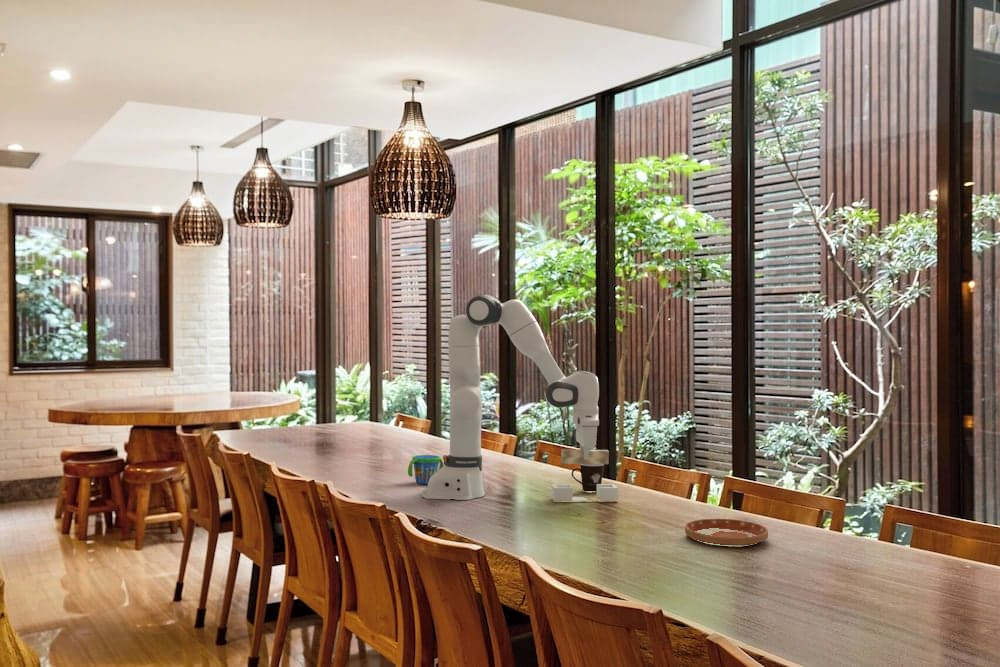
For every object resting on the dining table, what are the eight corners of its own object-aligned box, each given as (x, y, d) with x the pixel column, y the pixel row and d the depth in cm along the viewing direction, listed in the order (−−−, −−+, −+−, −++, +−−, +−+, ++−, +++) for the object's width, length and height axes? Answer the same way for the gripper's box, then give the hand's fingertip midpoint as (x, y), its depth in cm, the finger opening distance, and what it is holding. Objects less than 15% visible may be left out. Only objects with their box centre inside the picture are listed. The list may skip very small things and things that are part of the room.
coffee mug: (603, 489, 314) (603, 462, 314) (603, 494, 306) (604, 466, 306) (571, 488, 316) (571, 461, 316) (571, 493, 307) (571, 465, 307)
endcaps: (554, 502, 290) (554, 488, 290) (551, 498, 297) (551, 484, 296) (618, 502, 291) (618, 487, 291) (613, 498, 298) (614, 484, 298)
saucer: (710, 552, 228) (710, 539, 228) (670, 532, 250) (671, 520, 250) (784, 547, 234) (784, 534, 234) (740, 528, 256) (740, 516, 256)
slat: (562, 463, 291) (562, 450, 291) (561, 462, 294) (561, 449, 294) (608, 464, 292) (608, 451, 292) (606, 462, 295) (607, 449, 295)
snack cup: (436, 479, 332) (436, 453, 332) (450, 483, 324) (451, 456, 323) (401, 483, 323) (401, 456, 323) (415, 487, 314) (415, 460, 314)
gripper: (572, 414, 303) (571, 453, 303) (581, 421, 282) (580, 462, 283) (589, 415, 303) (588, 453, 303) (600, 421, 283) (599, 462, 283)
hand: (584, 458), depth 293 cm, fingers closed on slat, 3 cm apart
